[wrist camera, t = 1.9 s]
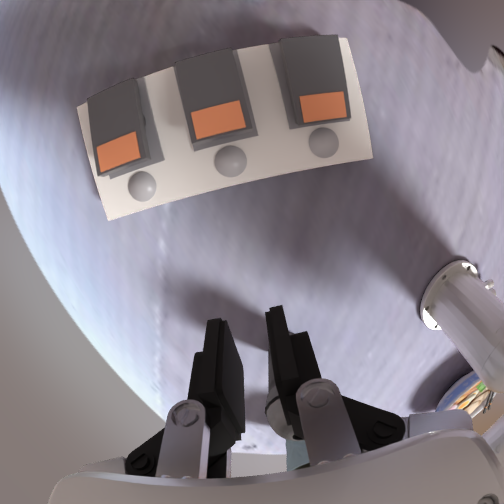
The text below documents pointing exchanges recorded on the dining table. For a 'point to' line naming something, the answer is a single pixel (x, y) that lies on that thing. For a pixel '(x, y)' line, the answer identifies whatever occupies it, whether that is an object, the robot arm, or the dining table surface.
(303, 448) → the teal plant pot
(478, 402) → the ramen bowl
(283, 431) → the beverage cup
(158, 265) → the dining table surface
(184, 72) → the middle rocker
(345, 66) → the rocker switch panel
